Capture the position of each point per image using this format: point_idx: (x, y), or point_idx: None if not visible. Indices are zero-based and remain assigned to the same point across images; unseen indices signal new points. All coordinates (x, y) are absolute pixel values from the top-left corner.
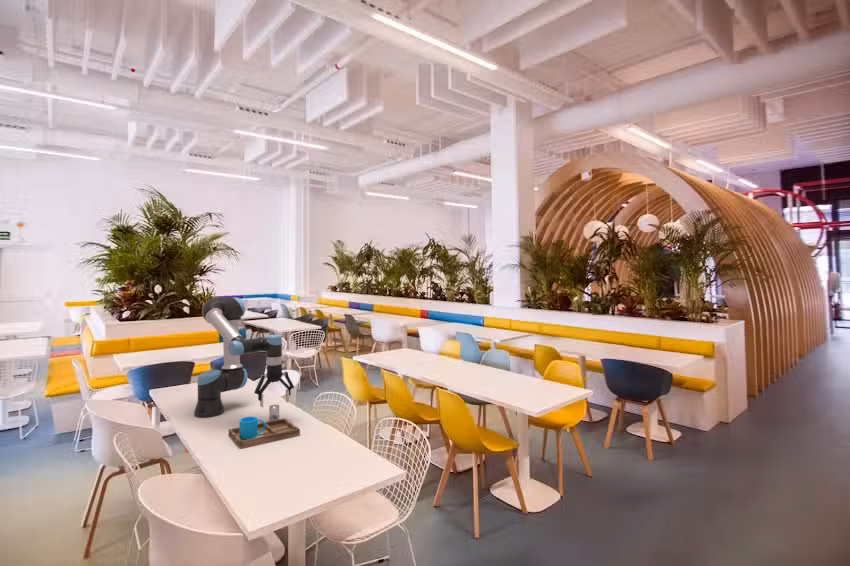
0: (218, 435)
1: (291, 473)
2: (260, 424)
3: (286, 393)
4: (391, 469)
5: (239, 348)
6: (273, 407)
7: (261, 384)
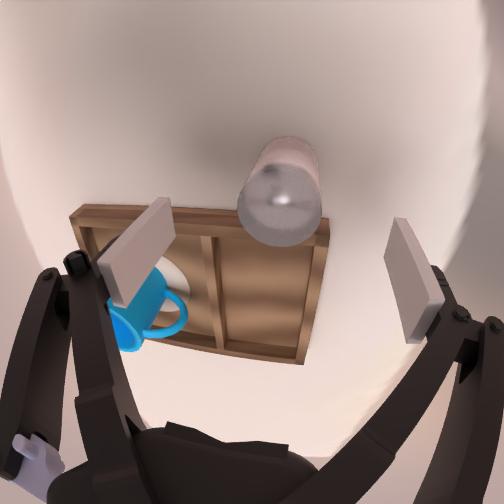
0: (57, 182)
1: (209, 419)
2: (185, 232)
3: (409, 288)
4: (327, 453)
5: None
6: (258, 240)
7: (58, 391)
